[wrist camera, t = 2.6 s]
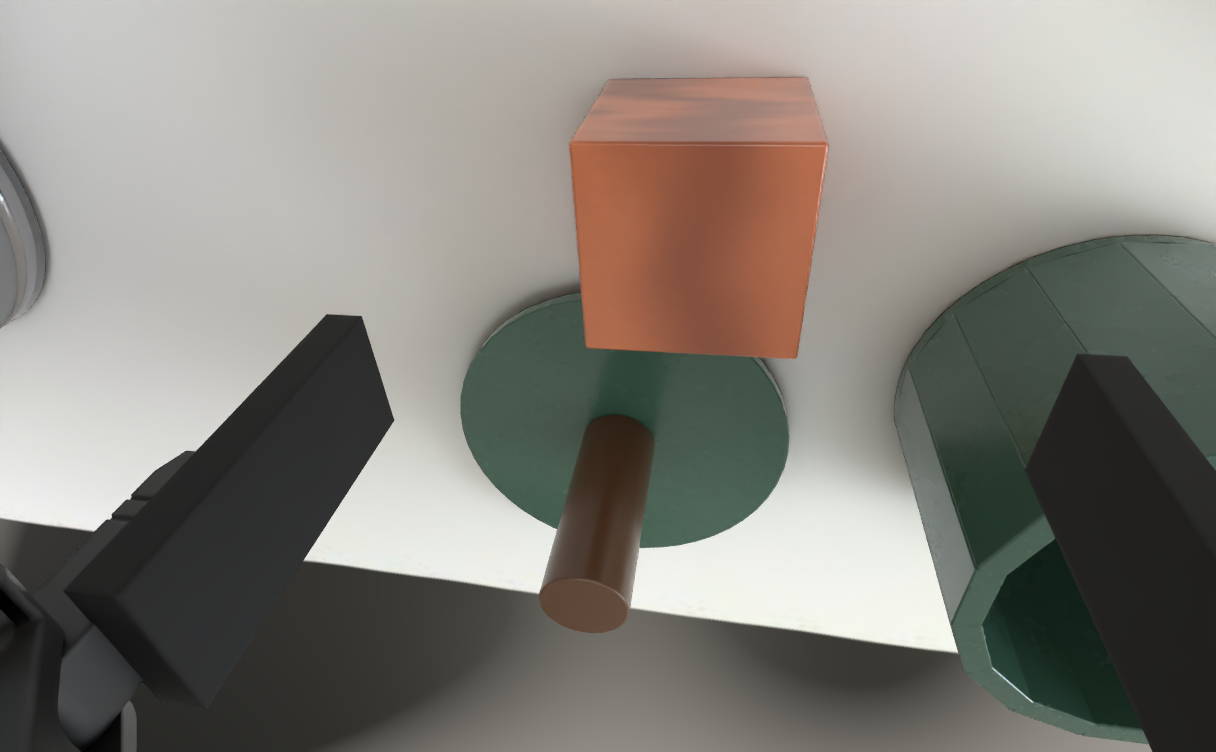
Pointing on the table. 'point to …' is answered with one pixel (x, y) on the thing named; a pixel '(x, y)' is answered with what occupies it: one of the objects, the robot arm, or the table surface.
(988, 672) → the tin
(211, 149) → the table surface
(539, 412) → the lid
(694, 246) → the block
